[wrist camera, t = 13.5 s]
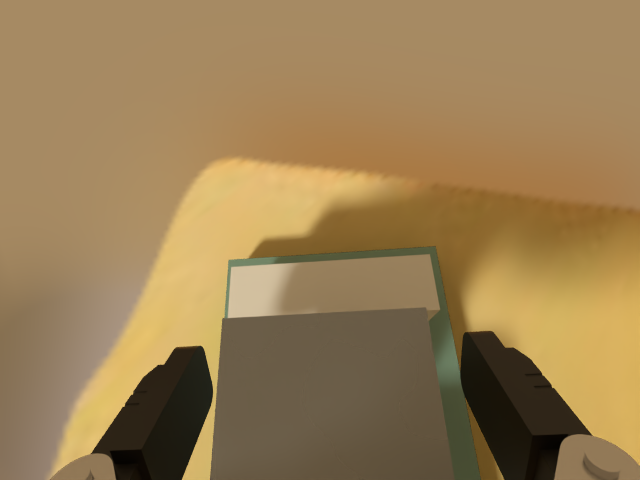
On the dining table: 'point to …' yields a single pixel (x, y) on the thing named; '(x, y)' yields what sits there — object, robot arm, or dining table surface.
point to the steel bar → (329, 398)
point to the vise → (361, 295)
